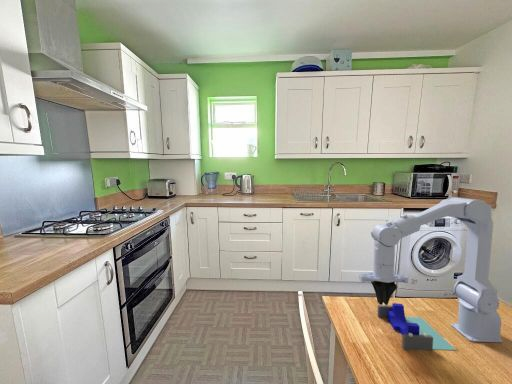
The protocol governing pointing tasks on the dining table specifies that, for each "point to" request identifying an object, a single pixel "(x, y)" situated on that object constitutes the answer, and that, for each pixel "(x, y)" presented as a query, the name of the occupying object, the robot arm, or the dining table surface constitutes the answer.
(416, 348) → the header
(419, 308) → the dining table surface
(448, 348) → the mat
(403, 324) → the blue bent block
